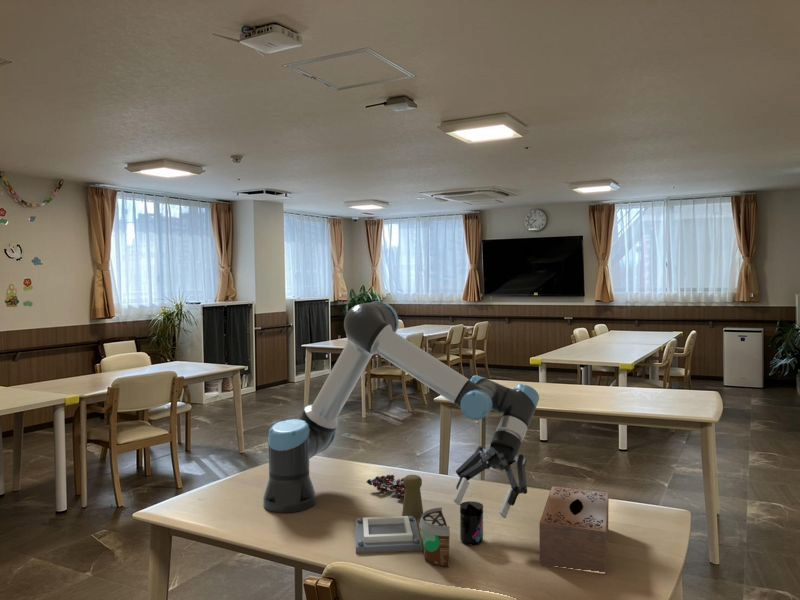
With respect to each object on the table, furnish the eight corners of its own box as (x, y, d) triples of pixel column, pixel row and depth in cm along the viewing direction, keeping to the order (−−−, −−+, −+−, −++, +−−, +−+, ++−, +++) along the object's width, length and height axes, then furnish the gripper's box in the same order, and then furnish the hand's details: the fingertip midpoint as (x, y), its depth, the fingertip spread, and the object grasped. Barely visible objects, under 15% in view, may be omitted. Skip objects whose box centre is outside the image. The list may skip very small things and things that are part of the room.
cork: (421, 519, 167) (421, 480, 166) (399, 518, 168) (399, 478, 167) (425, 511, 173) (425, 473, 172) (404, 509, 174) (403, 471, 173)
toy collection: (358, 491, 186) (361, 476, 186) (382, 480, 199) (384, 466, 199) (401, 506, 179) (403, 490, 179) (422, 494, 192) (425, 480, 191)
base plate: (355, 525, 163) (355, 514, 163) (415, 523, 164) (414, 512, 164) (355, 553, 147) (355, 540, 147) (421, 550, 148) (421, 538, 148)
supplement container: (469, 548, 149) (469, 511, 149) (455, 539, 154) (455, 504, 154) (488, 542, 152) (488, 507, 152) (473, 534, 157) (473, 499, 157)
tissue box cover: (605, 576, 136) (605, 531, 135) (539, 565, 141) (539, 523, 140) (608, 530, 160) (608, 492, 160) (551, 522, 165) (551, 486, 165)
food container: (416, 547, 150) (416, 507, 149) (441, 546, 150) (441, 506, 150) (422, 572, 138) (422, 528, 137) (450, 570, 138) (449, 527, 138)
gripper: (556, 452, 159) (528, 528, 148) (475, 437, 175) (444, 504, 164) (546, 437, 155) (517, 513, 144) (464, 422, 171) (432, 490, 160)
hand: (478, 508), depth 154 cm, fingers open, 13 cm apart
